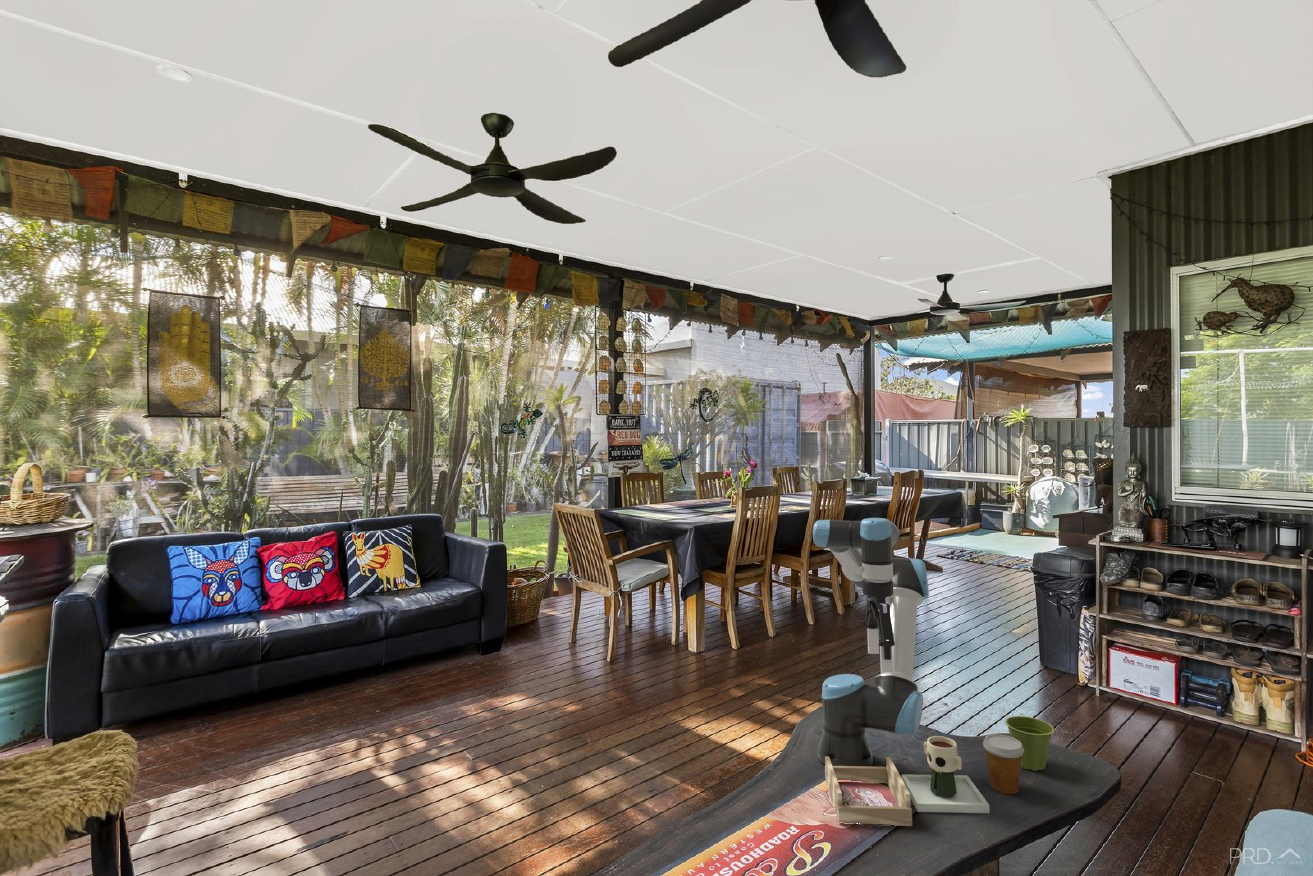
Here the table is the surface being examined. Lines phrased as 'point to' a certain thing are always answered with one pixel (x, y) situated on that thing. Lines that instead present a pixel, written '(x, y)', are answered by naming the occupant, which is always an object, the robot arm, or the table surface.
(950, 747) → the character mug
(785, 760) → the table surface
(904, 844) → the table surface
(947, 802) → the tray
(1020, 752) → the disposable coffee cup
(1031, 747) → the plant pot
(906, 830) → the table surface
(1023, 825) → the table surface
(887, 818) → the wooden frame
